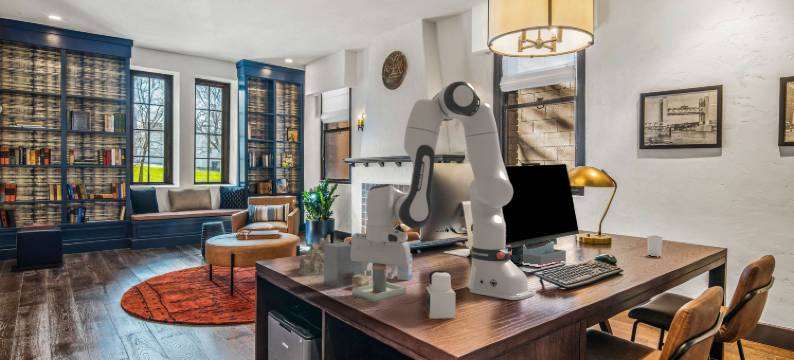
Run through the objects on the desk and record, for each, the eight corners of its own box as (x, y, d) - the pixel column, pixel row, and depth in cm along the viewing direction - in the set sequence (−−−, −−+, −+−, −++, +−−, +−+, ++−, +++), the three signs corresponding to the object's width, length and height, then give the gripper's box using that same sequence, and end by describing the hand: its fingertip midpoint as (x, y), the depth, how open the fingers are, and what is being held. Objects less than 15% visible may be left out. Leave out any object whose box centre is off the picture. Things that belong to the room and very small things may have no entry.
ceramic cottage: (324, 264, 190) (323, 229, 188) (341, 273, 176) (340, 236, 175) (289, 271, 181) (287, 234, 180) (304, 281, 168) (302, 241, 166)
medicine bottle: (425, 311, 127) (425, 269, 127) (450, 310, 128) (450, 268, 128) (429, 319, 120) (429, 274, 120) (455, 318, 121) (455, 274, 121)
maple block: (368, 287, 154) (368, 275, 154) (361, 289, 151) (361, 277, 150) (359, 285, 156) (359, 274, 156) (352, 287, 153) (352, 276, 153)
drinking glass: (663, 257, 213) (664, 237, 213) (647, 256, 216) (648, 236, 216) (661, 255, 220) (661, 235, 219) (645, 254, 222) (646, 234, 222)
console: (364, 282, 160) (365, 241, 159) (337, 288, 151) (337, 245, 151) (350, 278, 166) (350, 239, 166) (323, 283, 158) (323, 242, 157)
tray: (406, 293, 146) (406, 287, 146) (372, 301, 136) (372, 295, 136) (385, 287, 153) (385, 281, 153) (352, 294, 143) (352, 288, 143)
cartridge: (388, 290, 146) (388, 262, 146) (383, 293, 142) (382, 264, 142) (376, 289, 147) (375, 261, 148) (370, 292, 143) (370, 264, 144)
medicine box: (408, 280, 163) (408, 257, 163) (396, 280, 164) (396, 256, 164) (412, 276, 171) (412, 253, 171) (400, 275, 172) (401, 252, 172)
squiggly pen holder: (524, 265, 195) (524, 244, 195) (510, 261, 204) (510, 240, 204) (557, 262, 201) (557, 242, 201) (542, 258, 211) (542, 239, 210)
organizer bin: (565, 261, 202) (565, 250, 202) (540, 268, 187) (540, 256, 187) (537, 257, 212) (537, 246, 212) (511, 263, 197) (511, 251, 197)
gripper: (346, 233, 145) (346, 276, 146) (405, 237, 138) (405, 282, 138) (355, 231, 151) (355, 272, 151) (412, 235, 143) (412, 277, 144)
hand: (379, 277), depth 144 cm, fingers open, 6 cm apart
